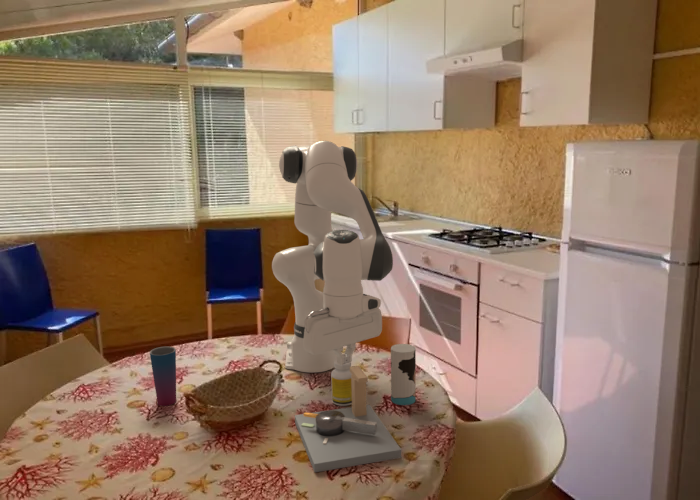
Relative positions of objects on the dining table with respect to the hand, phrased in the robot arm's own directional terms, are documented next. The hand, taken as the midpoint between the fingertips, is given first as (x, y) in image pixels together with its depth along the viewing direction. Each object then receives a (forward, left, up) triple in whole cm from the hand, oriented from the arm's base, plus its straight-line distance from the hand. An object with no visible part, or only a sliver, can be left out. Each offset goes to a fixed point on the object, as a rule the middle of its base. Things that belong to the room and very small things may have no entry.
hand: (344, 363), depth 132 cm
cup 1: (-39, -41, -21) cm, 61 cm away
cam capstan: (-5, 0, -19) cm, 20 cm away
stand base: (-4, +1, -21) cm, 22 cm away
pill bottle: (-24, +6, -21) cm, 33 cm away
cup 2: (-20, +22, -21) cm, 37 cm away
